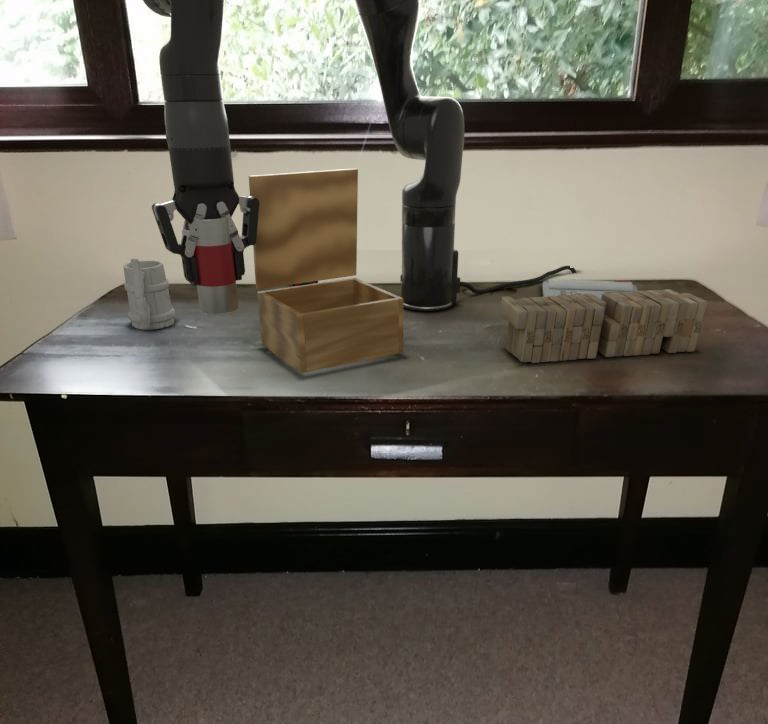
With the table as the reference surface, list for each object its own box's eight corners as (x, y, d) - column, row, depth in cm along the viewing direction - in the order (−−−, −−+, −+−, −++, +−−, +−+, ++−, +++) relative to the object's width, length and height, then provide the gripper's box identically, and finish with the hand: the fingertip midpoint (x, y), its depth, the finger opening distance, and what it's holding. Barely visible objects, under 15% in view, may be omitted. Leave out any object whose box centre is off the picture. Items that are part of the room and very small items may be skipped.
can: (231, 301, 103) (220, 211, 97) (244, 310, 99) (234, 217, 93) (194, 306, 101) (181, 215, 95) (207, 316, 97) (194, 221, 91)
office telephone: (542, 274, 142) (648, 277, 140) (541, 287, 144) (645, 291, 141) (544, 304, 123) (667, 308, 120) (543, 319, 124) (664, 324, 121)
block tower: (667, 342, 116) (494, 348, 111) (680, 288, 112) (500, 292, 107) (694, 357, 110) (512, 365, 104) (709, 301, 105) (519, 306, 100)
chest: (403, 357, 108) (403, 298, 104) (302, 378, 101) (297, 315, 97) (356, 332, 119) (355, 277, 114) (262, 349, 112) (257, 291, 107)
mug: (179, 316, 128) (168, 245, 121) (169, 337, 118) (157, 260, 111) (134, 318, 127) (121, 246, 121) (121, 339, 117) (106, 262, 111)
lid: (358, 169, 105) (341, 162, 109) (250, 176, 98) (236, 169, 102) (356, 275, 114) (340, 265, 118) (257, 289, 107) (244, 278, 111)
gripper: (148, 147, 84) (171, 295, 93) (264, 142, 90) (276, 281, 99) (133, 143, 89) (156, 283, 98) (243, 138, 96) (255, 270, 104)
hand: (216, 281), depth 98 cm, fingers closed on can, 5 cm apart
